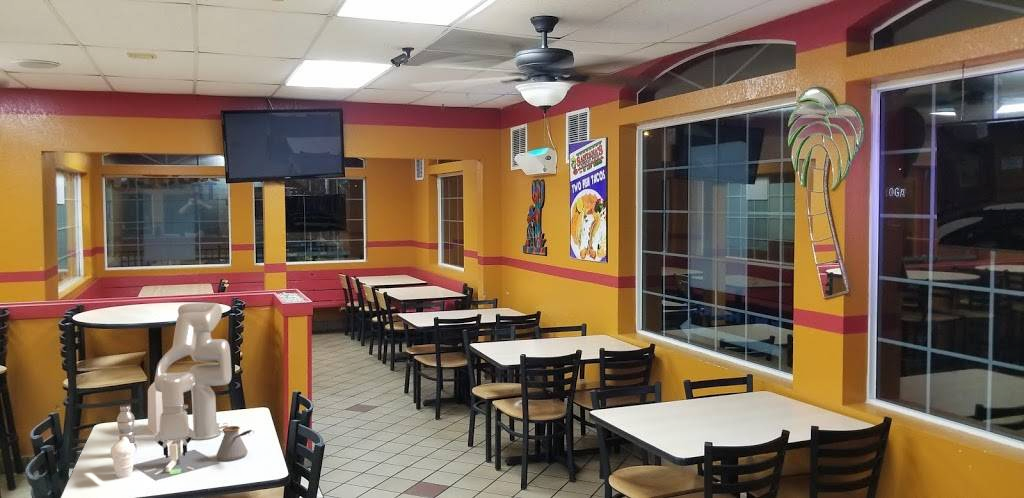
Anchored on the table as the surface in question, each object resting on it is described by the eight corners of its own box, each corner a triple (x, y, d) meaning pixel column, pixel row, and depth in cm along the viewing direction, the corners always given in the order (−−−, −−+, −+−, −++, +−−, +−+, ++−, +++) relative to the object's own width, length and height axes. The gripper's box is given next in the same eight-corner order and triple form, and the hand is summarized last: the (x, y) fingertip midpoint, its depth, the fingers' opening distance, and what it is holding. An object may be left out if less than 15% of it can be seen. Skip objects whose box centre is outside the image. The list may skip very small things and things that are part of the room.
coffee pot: (211, 461, 296) (209, 423, 295) (238, 453, 305) (236, 417, 304) (239, 473, 282) (237, 434, 281) (266, 464, 291) (265, 426, 290)
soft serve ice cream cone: (119, 485, 272) (117, 442, 271) (107, 481, 277) (104, 438, 276) (141, 477, 279) (139, 435, 278) (128, 474, 284) (126, 432, 283)
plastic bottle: (129, 457, 303) (126, 408, 302) (114, 456, 304) (112, 407, 303) (140, 451, 309) (137, 404, 308) (126, 451, 311) (123, 403, 309)
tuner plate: (194, 453, 306) (194, 448, 306) (220, 466, 289) (220, 462, 289) (132, 468, 289) (131, 464, 289) (155, 484, 272) (155, 479, 272)
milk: (147, 429, 341) (144, 372, 340) (174, 423, 349) (171, 368, 347) (156, 434, 332) (153, 376, 331) (183, 429, 340) (180, 372, 339)
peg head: (175, 460, 292) (174, 440, 291) (181, 460, 292) (180, 439, 292) (164, 472, 279) (163, 451, 279) (170, 472, 279) (169, 450, 279)
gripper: (197, 404, 295) (199, 449, 296) (149, 409, 288) (151, 456, 289) (197, 409, 288) (199, 455, 289) (147, 414, 281) (150, 462, 282)
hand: (175, 455), depth 289 cm, fingers open, 5 cm apart
